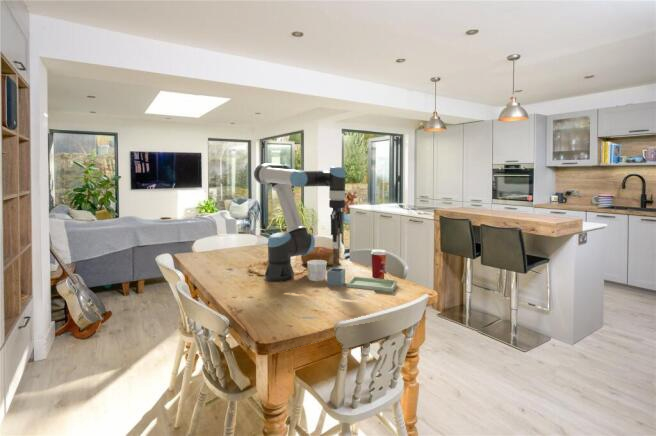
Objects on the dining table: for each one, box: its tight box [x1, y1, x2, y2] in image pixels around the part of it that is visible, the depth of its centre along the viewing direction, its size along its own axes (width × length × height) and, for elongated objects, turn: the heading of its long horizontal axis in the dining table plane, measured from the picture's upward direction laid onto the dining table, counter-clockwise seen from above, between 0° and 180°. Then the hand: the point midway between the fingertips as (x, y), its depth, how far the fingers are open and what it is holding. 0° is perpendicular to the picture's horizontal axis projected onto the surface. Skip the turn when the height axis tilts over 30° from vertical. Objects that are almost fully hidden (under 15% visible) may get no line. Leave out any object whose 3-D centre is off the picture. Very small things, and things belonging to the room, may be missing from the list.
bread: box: [300, 246, 341, 267], centre depth 239 cm, size 23×23×10 cm
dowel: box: [332, 228, 341, 266], centre depth 191 cm, size 3×3×18 cm
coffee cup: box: [370, 248, 388, 279], centre depth 206 cm, size 8×8×15 cm
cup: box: [306, 260, 327, 282], centre depth 201 cm, size 10×10×10 cm
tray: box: [345, 276, 398, 294], centre depth 191 cm, size 22×14×2 cm, turn 72°
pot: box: [326, 267, 346, 287], centre depth 192 cm, size 7×7×8 cm
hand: (336, 247), depth 191 cm, fingers closed on dowel, 3 cm apart
